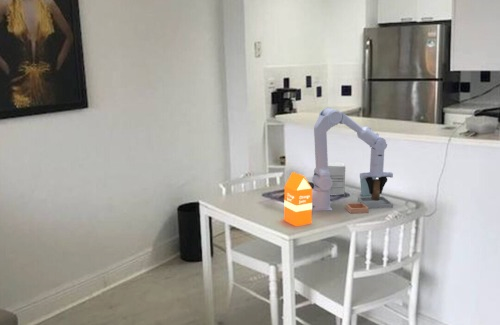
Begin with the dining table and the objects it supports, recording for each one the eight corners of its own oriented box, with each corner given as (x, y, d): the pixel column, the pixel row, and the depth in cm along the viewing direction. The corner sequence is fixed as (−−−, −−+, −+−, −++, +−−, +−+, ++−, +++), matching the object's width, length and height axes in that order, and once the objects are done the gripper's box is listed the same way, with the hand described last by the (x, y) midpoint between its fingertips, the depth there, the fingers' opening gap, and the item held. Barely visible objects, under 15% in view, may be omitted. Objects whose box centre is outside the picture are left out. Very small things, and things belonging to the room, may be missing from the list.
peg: (372, 200, 231) (373, 181, 229) (370, 198, 235) (371, 179, 233) (380, 200, 231) (381, 181, 229) (378, 198, 235) (379, 179, 233)
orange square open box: (350, 214, 221) (350, 208, 220) (345, 209, 228) (345, 203, 228) (368, 214, 221) (368, 208, 221) (362, 208, 229) (362, 202, 228)
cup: (378, 196, 248) (379, 175, 245) (365, 198, 245) (366, 176, 242) (369, 192, 254) (369, 171, 252) (356, 194, 251) (356, 173, 249)
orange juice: (299, 217, 218) (300, 170, 213) (311, 223, 210) (312, 175, 206) (283, 220, 214) (284, 172, 210) (295, 226, 206) (296, 177, 202)
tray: (366, 209, 227) (366, 204, 227) (357, 201, 239) (357, 197, 239) (392, 208, 229) (393, 203, 228) (382, 201, 240) (383, 196, 240)
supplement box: (323, 191, 257) (324, 161, 254) (341, 191, 257) (342, 161, 254) (325, 196, 248) (326, 165, 245) (344, 196, 248) (345, 165, 245)
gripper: (363, 166, 225) (362, 196, 228) (396, 165, 227) (394, 195, 230) (358, 162, 232) (357, 192, 235) (390, 161, 234) (388, 190, 236)
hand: (375, 193), depth 233 cm, fingers closed on peg, 4 cm apart
